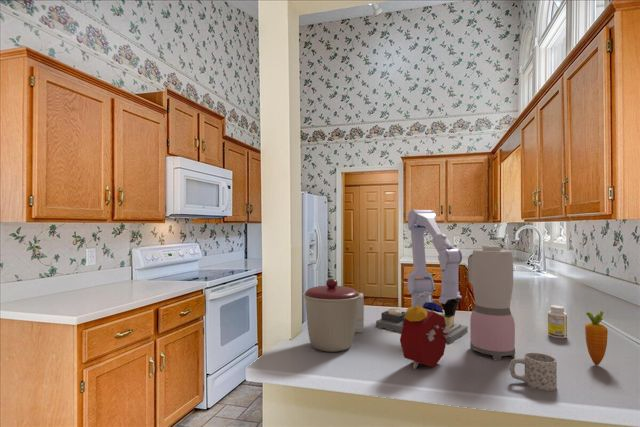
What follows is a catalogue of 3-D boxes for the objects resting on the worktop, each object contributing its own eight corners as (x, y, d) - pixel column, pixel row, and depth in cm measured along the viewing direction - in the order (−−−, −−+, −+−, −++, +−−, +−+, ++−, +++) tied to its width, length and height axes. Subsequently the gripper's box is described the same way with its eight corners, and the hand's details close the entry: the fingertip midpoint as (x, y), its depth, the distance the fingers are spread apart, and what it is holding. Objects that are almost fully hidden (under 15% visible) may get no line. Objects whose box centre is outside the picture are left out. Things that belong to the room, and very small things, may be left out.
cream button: (392, 313, 142) (392, 307, 142) (404, 315, 139) (404, 310, 139) (385, 315, 138) (385, 310, 138) (397, 317, 135) (397, 312, 135)
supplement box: (363, 327, 135) (363, 292, 135) (363, 333, 128) (364, 296, 128) (343, 326, 136) (343, 292, 136) (342, 332, 128) (342, 296, 129)
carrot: (583, 365, 101) (583, 310, 101) (587, 360, 104) (586, 307, 105) (606, 370, 97) (605, 314, 98) (609, 365, 101) (608, 310, 101)
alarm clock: (428, 354, 108) (428, 286, 108) (456, 362, 102) (456, 290, 102) (399, 367, 98) (399, 292, 98) (428, 378, 92) (428, 298, 92)
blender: (525, 357, 106) (525, 247, 107) (493, 362, 102) (493, 248, 102) (483, 340, 121) (483, 243, 122) (453, 344, 117) (454, 244, 117)
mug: (550, 380, 91) (550, 354, 91) (561, 393, 84) (561, 364, 84) (506, 376, 93) (506, 350, 93) (513, 387, 87) (513, 359, 87)
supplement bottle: (556, 333, 129) (556, 304, 130) (571, 338, 124) (571, 308, 124) (543, 334, 128) (543, 305, 128) (557, 339, 123) (557, 308, 123)
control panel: (396, 317, 148) (396, 306, 148) (467, 331, 130) (467, 319, 130) (376, 326, 136) (376, 314, 136) (450, 343, 118) (450, 329, 118)
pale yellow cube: (442, 324, 131) (442, 313, 131) (453, 326, 128) (453, 315, 128) (438, 327, 128) (438, 315, 128) (449, 329, 125) (449, 317, 125)
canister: (295, 340, 119) (296, 275, 120) (346, 335, 125) (346, 273, 126) (312, 360, 102) (313, 285, 103) (370, 353, 108) (371, 282, 109)
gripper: (453, 286, 123) (453, 327, 122) (468, 281, 134) (468, 318, 133) (433, 283, 127) (433, 323, 127) (449, 278, 138) (448, 315, 138)
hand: (449, 320), depth 130 cm, fingers closed
